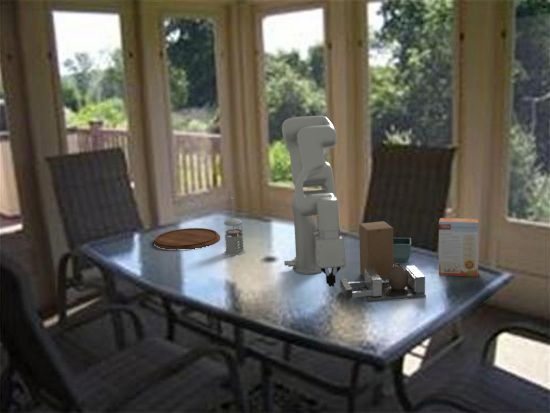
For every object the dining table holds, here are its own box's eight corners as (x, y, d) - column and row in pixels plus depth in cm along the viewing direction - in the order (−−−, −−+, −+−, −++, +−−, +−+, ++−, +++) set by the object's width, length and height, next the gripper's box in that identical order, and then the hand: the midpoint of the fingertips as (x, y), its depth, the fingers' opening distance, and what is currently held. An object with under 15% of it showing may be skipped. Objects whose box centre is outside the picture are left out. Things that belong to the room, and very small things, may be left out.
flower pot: (411, 266, 239) (411, 244, 237) (388, 265, 241) (388, 243, 239) (411, 258, 248) (410, 237, 246) (388, 258, 249) (388, 237, 247)
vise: (368, 302, 206) (367, 282, 204) (359, 287, 219) (358, 268, 218) (425, 297, 207) (426, 277, 206) (413, 283, 221) (413, 264, 219)
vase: (391, 292, 210) (390, 268, 208) (385, 285, 216) (385, 262, 214) (410, 291, 210) (410, 267, 208) (404, 284, 217) (404, 260, 215)
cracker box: (478, 272, 228) (479, 218, 224) (477, 277, 223) (479, 222, 218) (439, 269, 233) (439, 217, 228) (438, 275, 228) (438, 221, 223)
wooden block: (394, 279, 226) (393, 227, 221) (368, 282, 224) (367, 230, 220) (384, 270, 235) (384, 220, 231) (359, 273, 234) (358, 223, 229)
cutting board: (185, 229, 313) (185, 224, 313) (234, 237, 295) (233, 231, 294) (138, 246, 288) (138, 240, 288) (188, 255, 270) (187, 249, 269)
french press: (220, 255, 266) (215, 199, 261) (231, 247, 277) (227, 193, 271) (240, 256, 263) (236, 200, 257) (251, 248, 273) (248, 194, 267)
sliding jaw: (346, 298, 206) (346, 281, 205) (340, 286, 218) (339, 270, 216) (381, 295, 207) (381, 279, 205) (373, 283, 218) (373, 267, 217)
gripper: (308, 238, 202) (311, 290, 206) (352, 234, 203) (354, 287, 207) (305, 232, 209) (308, 283, 213) (348, 229, 211) (350, 280, 214)
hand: (331, 285), depth 210 cm, fingers closed
